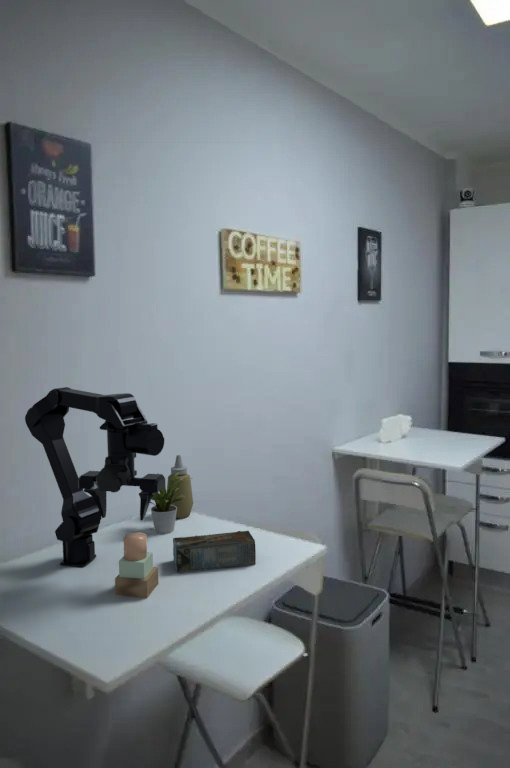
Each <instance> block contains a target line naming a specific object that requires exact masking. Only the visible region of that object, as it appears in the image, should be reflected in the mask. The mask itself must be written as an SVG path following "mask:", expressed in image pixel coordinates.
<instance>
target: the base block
mask: <svg viewBox="0 0 510 768" xmlns="http://www.w3.org/2000/svg"><path fill="white" fill-rule="evenodd" d="M158 585H159V567H158V566H153V569H152V570H151V571H150V572H149V574H148V575H147V576H146V577H145V578H144V579H140V578H125V577H119V574H117V576H116V577H115V578H114V590H115V591H114V593H115V596H119V597H129V598H131V597H132V598H139V599H140V598H142V599H148V598H149V597H150V595H151V594H152V593H153V591H155V589H156V588H157V587H158Z"/></svg>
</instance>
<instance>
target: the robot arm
mask: <svg viewBox="0 0 510 768" xmlns="http://www.w3.org/2000/svg"><path fill="white" fill-rule="evenodd" d="M71 408H72V409H76V410H80V411H85V412H91V413H93V414H96V416H97V417H98V418H100V419H102V420H104V423H102V424H100V426H99V430H103V431H106V437H107V438H106V440H107V443H106V444H107V445H106V446H107V456H106V457H105V460H104V466H103V468H101V469H100V471H99V470H88V471H86V472H85V473H83V474H81V475H78V472H77V470H76V468H75V465H74V462H73V460H72V457H71V455H70V452H69V449H68V446H67V444H66V441H65V438H64V433H65V427H66V423H65V417H66V415H68V413H69V412H70V409H71ZM24 421H25V425H26V426H27V428H28V429H27V430H29V433H30V434H31V436H32V437H33V438H34V439H35V440H37V441H38V442H39V443H41V445H42V447H43V449H44V452H45V455H46V458H47V460H48V462H49V465H50V467H51V470H52V473H53V476H54V478H55V481H56V483H57V486H58V487H57V488H58V490H59V491H60V494H61V497H62V505H61V512H60V515H61V518H62V519H61V520H62V522H61V523H60V524H59V525H58V527H57V528H56V529H55V530H54V533H55V537H56V540H57V541H61V542H62V558H63V559H62V560H61V561H60V562H59V565H60V566H72V567H73V566H74V567H84V568H85V567H86V566H87V565H88V564H89V563H91V562H92V561H93V560H94V559H96V557H97V554H96V549H95V545H96V544H95V541H94V539H93V534H96V533H98V530H99V527H100V524H101V520H102V519H104V518H106V517H107V516H106V515H107V492H111V493H118V492H119V491H120V490H121V487H122V486H124V487H139V489H140V492H139V493H138V496H139V498H140V501H139V502H140V505H139V506H140V508H139V518H140V521H143V520H145V517H146V514H147V512H148V509H149V507H150V504H151V503H150V502H151V501H152V500H151V499H152V497H153V495H154V494H155V493H156V492H159V491H160V490H161V489H162V488H164V487H167V484H166V477H165V476H164V474H163V473H162V474H161V473H158V474H157V473H147V474H145V475H144V476H143V477H136V476H137V474H138V473H137V472H138V471H137V470H136V469H135V458H137V454H139V455H140V454H141V455H147V456H153V457H155V456H159V455H160V454H161V452H162V451H163V449H164V445H165V437H164V435H163V432H162V431H161V430H160V429H159V428H158V423H154V422H153V423H148V420H147V418H146V416H145V414H144V413H143V411H142V410H141V408H140V405H139V404H138V402H137V400H136V399H135V396H134V395H133V394H131V393H130V392H128V393H112V394H101V393H96V392H91V391H90V392H89V391H84V390H79V389H73V388H70V387H68V386H64V387H57V388H53V389H51V390H50V391H48V393H47V394H46V395H45V396H44V397H42V398H41V399H39V400H38V401H36V402H35V403H33V405H32V406H31V407H29V409H28V410H27V411H26V414H25V417H24ZM87 493H88V494H87ZM90 495H91V496H90Z"/></svg>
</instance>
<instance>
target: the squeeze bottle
mask: <svg viewBox="0 0 510 768" xmlns="http://www.w3.org/2000/svg"><path fill="white" fill-rule="evenodd" d="M183 464H184V463H183V460H182V456H181V454H177V455H176V457H175V462H174V466H172V467H171V468H170V474H169V475H168V476H167V483H166V491H167V490H168V486H169V482H170V480H171V479H172V477H173V476H174V475H175V474H177V473H179V472H181V473H179V474H178V475H177V477H176V479H175V480H174V482H173V484H172V486H171V488H172V487H173V486H174V484H175V483H176V482H178V480H180V479H182V480H184V479H187V478H191V476H190V474H189V473H188V470H187V469H188V467H187V466H184V465H183ZM182 480H181V481H182ZM191 480H192V479H187V480H185V481H183V482H182V483H180V482H181V481H180V482H179V483H180V484H179V483H178V484H179V486H178V487H177V488H179V489H178V490H177V491H176V493H175V494H174V496H173V498H172V501H174V498H175V497H177V496H179V495H183V496H184V497H178V498H176V499H181V500H183V501H176V502H173V503H172V504H170V505H174V506H176V507H177V513H176V519H184V518H187V516H188V517H189V516H190V515H191V512H192V510H193V507H194V506H193V505H194V498H193V489H192V481H191ZM173 488H174V487H173ZM173 488H172V489H173ZM177 488H176V489H177ZM176 499H175V500H176ZM172 501H171V502H172ZM183 517H184V518H183Z"/></svg>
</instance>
